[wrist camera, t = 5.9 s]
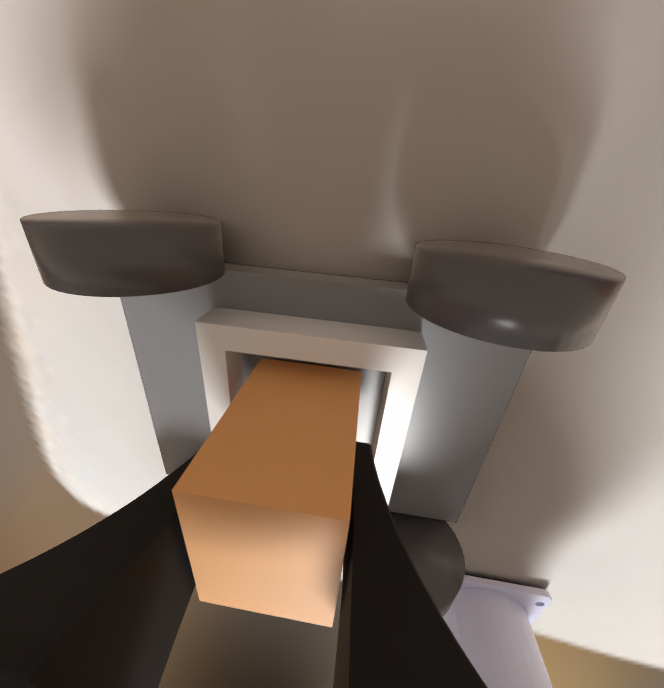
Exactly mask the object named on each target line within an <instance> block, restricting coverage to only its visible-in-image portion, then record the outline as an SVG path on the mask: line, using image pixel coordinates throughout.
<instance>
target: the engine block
mask: <svg viewBox="0 0 664 688" xmlns="http://www.w3.org/2000/svg"><path fill="white" fill-rule="evenodd" d="M361 372H362V371H354V370H347V369H339V368H332V367H324V366H317V365H309V364H302V363H294V362H287V361H279V360H272V359H264V358H261V360H260V361H259V362H258V364H257V365H256V367H255V368H254V370H253V371H252V373H251V374H250V376H249V377H248V379H247V380H246V382H245V383H244V385H243V386H242V388H241V389H240V390H239V392H238V393H237V395H236V396H235V398H234V399H233V401H232V402H231V404H230V405H229V407H228V408H227V410H226V411H225V413H224V414H223V416H222V417H221V418H220V420H219V421H218V423H217V424H216V426H215V427H214V429H213V430H212V432H211V433H210V435H209V436H208V438H207V439H206V441H205V442H204V444H203V445H202V446H201V448H200V449H199V451H198V452H197V454H196V455H195V457H194V458H193V460H192V461H191V463H190V464H189V466H188V467H187V469H186V470H185V472H184V473H183V474H182V476H181V477H180V479H179V480H178V482H177V483H176V485H175V486H174V488H173V489H172V493H173V497H174V501H175V505H176V509H177V513H178V517H179V521H180V525H181V529H182V533H183V536H184V540H185V544H186V548H187V552H188V556H189V560H190V564H191V568H192V572H193V576H194V580H195V583H196V587H197V591H198V594H199V599H200V601H204V602H208V603H213V604H218V605H224V606H228V607H233V608H238V609H243V610H249V611H254V612H259V613H263V614H268V615H273V616H278V617H283V618H288V619H293V620H298V621H303V622H308V623H313V624H318V625H323V626H328V627H332V625H333V619H334V613H335V607H336V601H337V595H338V589H339V583H340V577H341V571H342V566H343V560H344V554H345V548H346V542H347V536H348V530H349V524H350V514H351V501H352V488H353V475H354V462H355V449H356V436H357V424H358V411H359V398H360V385H361Z"/></svg>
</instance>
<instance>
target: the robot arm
mask: <svg viewBox="0 0 664 688" xmlns="http://www.w3.org/2000/svg"><path fill="white" fill-rule="evenodd" d="M196 454H197V453H195V454H194V455H193V456H192V457H191V458H189V459H188V460H187V461H186V462H185V463H183V464H182V465H181V466H180V467H178V468H177V469H176V470H174V471H173V472H172V473H171V474H169V475H168V476H167V477H165V478H164V479H163V480H162V481H160V482H159V483H158V484H156V485H155V486H153V487H152V488H151V489H149V490H148V491H146V492H145V493H144V494H142V495H141V496H139V497H138V498H136V499H135V500H133V501H132V502H130V503H129V504H127V505H126V506H124V507H123V508H121V509H120V510H118V511H116V512H115V513H113V514H112V515H110V516H108V517H107V518H105V519H103V520H102V521H100V522H98V523H97V524H95V525H93V526H92V527H90V528H88V529H87V530H85V531H83V532H81V533H80V534H78V535H76V536H74V537H72V538H71V539H69V540H67V541H65V542H63V543H61V544H60V545H58V546H56V547H54V548H52V549H50V550H48V551H46V552H44V553H42V554H40V555H38V556H37V557H35V558H33V559H31V560H29V561H27V562H24V563H23V564H20V565H18V566H16V567H14V568H12V569H10V570H8V571H6V572H3V573H2V574H0V688H158V686H159V683H160V680H161V677H162V674H163V672H164V669H165V666H166V663H167V660H168V658H169V655H170V652H171V649H172V646H173V644H174V641H175V638H176V635H177V632H178V629H179V627H180V624H181V622H182V619H183V616H184V613H185V611H186V608H187V606H188V603H189V600H190V598H191V595H192V592H193V590H194V587H195V585H196V583H195V580H194V576H193V572H192V568H191V564H190V560H189V556H188V552H187V548H186V544H185V540H184V536H183V533H182V529H181V525H180V521H179V517H178V513H177V509H176V505H175V501H174V497H173V493H172V489H173V488H174V486H175V485H176V483H177V482H178V480H179V479H180V477H181V476H182V474H183V473H184V472H185V470H186V469H187V467H188V466H189V464H190V463H191V461H192V460H193V458H194V457H195V455H196ZM551 600H552V599H551V596H550V594H549V592H548V591H547V590H545V589H540V588H535V587H529V586H524V585H518V584H513V583H507V582H502V581H496V580H491V579H485V578H480V577H474V576H468V575H464V579H463V583H462V586H461V588H460V590H459V592H458V594H457V596H456V598H455V600H454V601H453V603H452V605H451V607H450V609H449V610H448V612H447V613H446V614H445V615H444V616H443V617H442V615H441V613H440V611H439V610H438V608H437V606H436V604H435V603H434V601H433V599H432V597H431V595H430V594H429V592H428V590H427V588H426V587H425V585H424V583H423V581H422V579H421V577H420V576H419V574H418V572H417V570H416V568H415V566H414V564H413V562H412V560H411V558H410V556H409V554H408V551H407V549H406V547H405V545H404V543H403V541H402V539H401V536H400V534H399V532H398V529H397V527H396V525H395V522H394V520H393V517H392V515H391V512H390V510H389V507H388V504H387V502H386V499H385V496H384V493H383V490H382V487H381V484H380V481H379V477H378V474H377V470H376V466H375V462H374V458H373V452H372V446H371V445H370V444H369V443H364V442H357V441H356V449H355V462H354V475H353V488H352V501H351V514H350V524H349V530H348V536H347V542H346V548H345V554H344V560H343V586H342V599H341V610H340V621H339V631H338V642H337V643H338V644H337V653H336V663H335V674H334V685H333V688H553V687H552V684H551V681H550V678H549V675H548V673H547V670H546V667H545V664H544V661H543V659H542V656H541V653H540V650H539V647H538V644H537V642H536V639H535V636H534V633H533V630H532V628H531V625H532V623H533V622H534V621H535V620H536V619H537V617H538V616H539V615H540V614H541V613H542V611H543V610H544V609H545V608H546V607H547V605H548V604H549V603H550V602H551Z"/></svg>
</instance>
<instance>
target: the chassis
mask: <svg viewBox="0 0 664 688" xmlns="http://www.w3.org/2000/svg"><path fill="white" fill-rule="evenodd" d="M20 222H21V224H22V227H23V230H24V232H25V235H26V238H27V240H28V243H29V246H30V248H31V251H32V254H33V256H34V259H35V262H36V264H37V267H38V270H39V272H40V275H41V278H42V280H43V283H44V284H45V285H46V286H47V287H49V288H51V289H53V290H56V291H59V292H64V293H68V294H75V295H83V296H96V297H120V298H121V302H122V306H123V310H124V314H125V317H126V321H127V325H128V329H129V333H130V337H131V340H132V344H133V348H134V352H135V356H136V360H137V363H138V367H139V371H140V375H141V379H142V383H143V386H144V390H145V394H146V398H147V402H148V406H149V409H150V413H151V417H152V421H153V425H154V429H155V432H156V436H157V440H158V444H159V448H160V452H161V455H162V459H163V463H164V467H165V471H166V474H171V473H172V472H173V471H174V470H176V469H177V468H178V467H180V466H181V465H182V464H183V463H185V462H186V461H187V460H188V459H189V458H191V457H192V456H193V455H194V454H195V453H197V452H198V451H199V449H200V448H201V446H202V445H203V444H204V442H205V441H206V439H207V438H208V436H209V435H210V433H211V432H212V430H213V429H214V427H215V426H216V424H217V423H218V421H219V420H220V418H221V417H222V416H223V414H224V413H225V411H226V410H227V408H228V407H229V405H230V404H231V402H232V401H233V399H234V398H235V396H236V395H237V393H238V392H239V390H240V389H241V388H242V386H243V385H244V383H245V382H246V380H247V379H248V377H249V376H250V374H251V373H252V371H253V370H254V368H255V367H256V365H257V364H258V362H259V361H260V360H261V358H264V359H272V360H279V361H287V362H294V363H302V364H309V365H317V366H324V367H332V368H339V369H347V370H354V371H362V372H361V385H360V398H359V411H358V424H357V436H356V441H357V442H364V443H369V444H370V445H371V446H372V452H373V458H374V462H375V466H376V470H377V474H378V477H379V481H380V484H381V487H382V490H383V493H384V496H385V499H386V502H387V504H388V507H389V510H390V512H391V515H392V517H393V520H394V522H395V525H396V527H397V529H398V532H399V534H400V536H401V539H402V541H403V543H404V545H405V547H406V549H407V551H408V554H409V556H410V558H411V560H412V562H413V564H414V566H415V568H416V570H417V572H418V574H419V576H420V577H421V579H422V581H423V583H424V585H425V587H426V588H427V590H428V592H429V594H430V595H431V597H432V599H433V601H434V603H435V604H436V606H437V608H438V610H439V611H440V613H441V615H442V617H443V616H444V615H445V614H446V613H447V612H448V610H449V609H450V607H451V605H452V603H453V601H454V600H455V598H456V596H457V594H458V592H459V590H460V588H461V586H462V583H463V579H464V574H465V562H464V556H463V552H462V549H461V546H460V543H459V541H458V539H457V537H456V535H455V534H454V532H453V531H452V529H451V528H450V526H449V525H448V524H447V523H446V521H450V522H457V520H458V518H459V515H460V513H461V511H462V509H463V506H464V504H465V502H466V499H467V497H468V495H469V492H470V490H471V488H472V486H473V483H474V481H475V479H476V476H477V474H478V472H479V469H480V467H481V465H482V463H483V460H484V458H485V456H486V453H487V451H488V449H489V447H490V444H491V442H492V440H493V437H494V435H495V433H496V430H497V428H498V426H499V424H500V421H501V419H502V417H503V414H504V412H505V410H506V407H507V405H508V403H509V401H510V398H511V396H512V394H513V391H514V389H515V387H516V385H517V382H518V380H519V378H520V375H521V373H522V371H523V368H524V366H525V364H526V362H527V359H528V357H529V355H530V352H531V350H535V351H551V352H558V351H572V350H578V349H581V348H584V347H586V346H588V345H590V344H591V342H592V341H593V339H594V337H595V336H596V334H597V332H598V330H599V328H600V326H601V324H602V322H603V321H604V319H605V317H606V315H607V313H608V311H609V309H610V308H611V306H612V304H613V302H614V300H615V298H616V296H617V294H618V293H619V291H620V289H621V287H622V285H623V283H624V281H625V279H626V276H625V275H624V274H623V273H621V272H619V271H617V270H615V269H613V268H610V267H607V266H604V265H601V264H598V263H594V262H591V261H587V260H583V259H579V258H575V257H571V256H566V255H561V254H557V253H552V252H546V251H541V250H535V249H529V248H523V247H516V246H509V245H502V244H494V243H484V242H474V241H459V240H430V241H423V242H419V243H417V245H416V248H415V253H414V258H413V264H412V269H411V274H410V279H409V283H404V282H394V281H385V280H376V279H367V278H357V277H348V276H339V275H330V274H321V273H311V272H302V271H293V270H284V269H274V268H265V267H256V266H247V265H238V264H228V263H224V254H223V242H222V231H221V222H220V221H219V220H217V219H214V218H210V217H205V216H199V215H192V214H183V213H172V212H157V211H134V210H79V211H59V212H47V213H39V214H32V215H28V216H24V217H22V218H20Z"/></svg>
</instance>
